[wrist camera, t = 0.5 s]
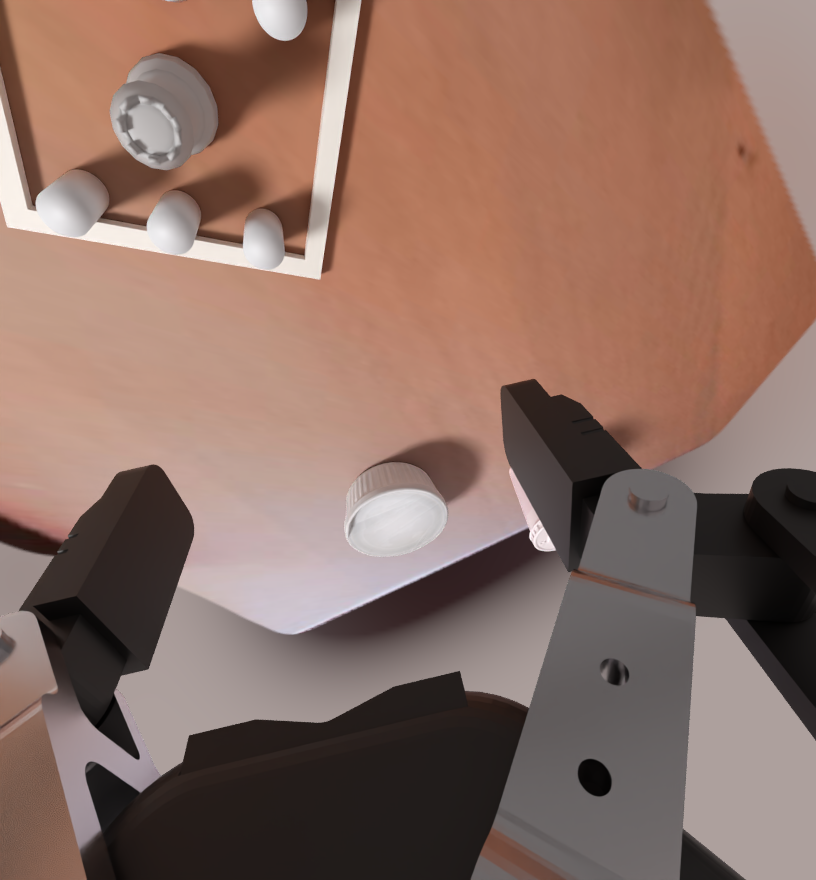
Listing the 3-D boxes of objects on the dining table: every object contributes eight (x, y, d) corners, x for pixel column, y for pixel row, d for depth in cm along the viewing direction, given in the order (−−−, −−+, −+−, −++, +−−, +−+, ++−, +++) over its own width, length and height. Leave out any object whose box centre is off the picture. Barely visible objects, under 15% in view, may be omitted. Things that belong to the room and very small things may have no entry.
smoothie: (492, 488, 55) (543, 592, 45) (506, 450, 51) (565, 555, 41) (539, 483, 57) (598, 582, 47) (556, 446, 52) (625, 546, 42)
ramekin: (366, 442, 45) (375, 480, 41) (454, 465, 51) (469, 500, 47) (322, 512, 51) (327, 551, 47) (405, 526, 56) (416, 562, 53)
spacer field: (12, 222, 27) (-18, 246, 24) (-106, -224, 17) (-181, -275, 14) (319, 275, 33) (324, 299, 30) (363, -29, 23) (377, -36, 20)
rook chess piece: (224, 76, 24) (213, 94, 19) (213, 165, 27) (200, 204, 21) (129, 34, 23) (85, 40, 17) (127, 134, 25) (88, 168, 19)
